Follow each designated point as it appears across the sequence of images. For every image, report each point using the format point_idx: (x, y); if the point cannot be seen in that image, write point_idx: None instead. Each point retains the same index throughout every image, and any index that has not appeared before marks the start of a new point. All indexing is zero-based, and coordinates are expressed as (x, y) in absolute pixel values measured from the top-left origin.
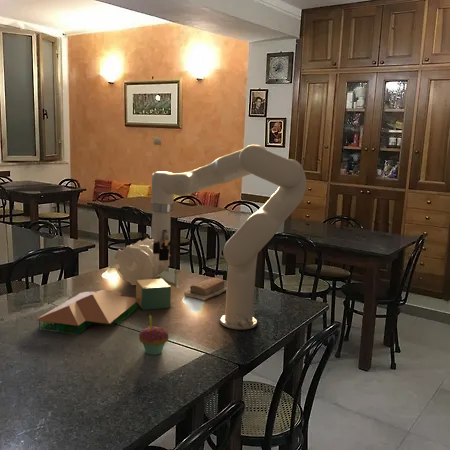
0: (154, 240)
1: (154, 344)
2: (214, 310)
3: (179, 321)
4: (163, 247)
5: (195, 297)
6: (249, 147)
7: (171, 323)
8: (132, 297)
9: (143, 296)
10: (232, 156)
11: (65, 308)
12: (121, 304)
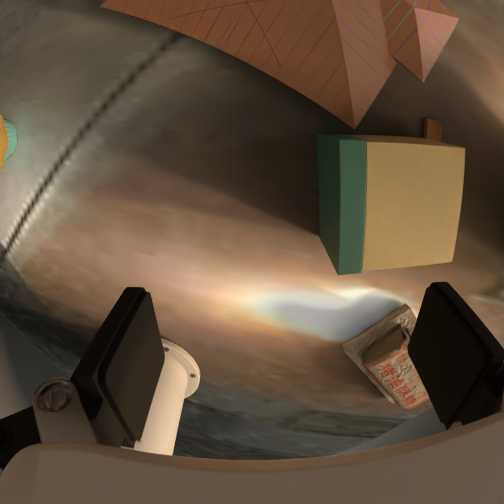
0: (161, 471)
1: None
2: (257, 349)
3: (177, 236)
4: (29, 411)
5: (370, 328)
6: None
7: (162, 207)
8: (436, 131)
9: (329, 139)
10: None
11: None
12: (259, 34)
